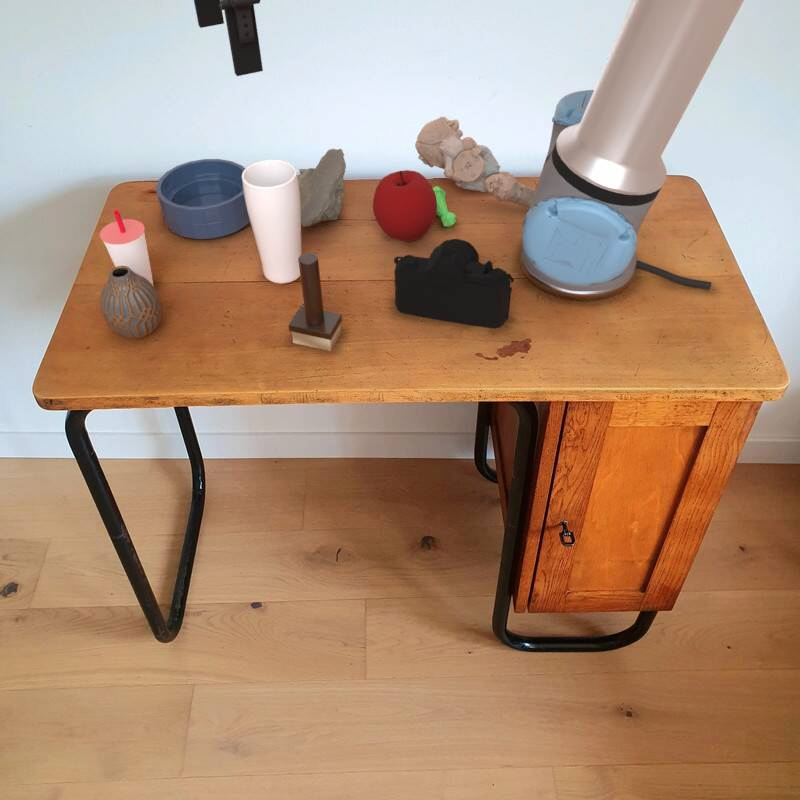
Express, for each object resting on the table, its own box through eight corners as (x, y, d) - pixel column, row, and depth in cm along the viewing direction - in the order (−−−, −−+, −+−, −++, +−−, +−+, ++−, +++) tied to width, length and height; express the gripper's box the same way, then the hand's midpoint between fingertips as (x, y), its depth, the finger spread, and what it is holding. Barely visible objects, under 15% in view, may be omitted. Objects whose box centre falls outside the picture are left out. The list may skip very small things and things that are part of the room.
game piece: (413, 209, 112) (435, 236, 110) (426, 185, 110) (449, 211, 107) (435, 211, 115) (456, 237, 112) (448, 187, 113) (470, 213, 110)
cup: (152, 303, 100) (127, 224, 91) (113, 299, 101) (84, 220, 92) (167, 277, 104) (144, 199, 95) (129, 274, 104) (103, 196, 95)
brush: (343, 332, 96) (336, 252, 87) (332, 352, 93) (324, 272, 85) (303, 323, 97) (292, 244, 88) (290, 343, 95) (278, 263, 86)
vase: (99, 329, 97) (77, 273, 90) (145, 302, 100) (127, 246, 94) (132, 354, 93) (111, 298, 87) (178, 326, 97) (162, 269, 90)
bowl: (271, 199, 116) (266, 166, 112) (231, 249, 108) (224, 215, 104) (192, 185, 119) (185, 153, 115) (148, 233, 111) (138, 199, 107)
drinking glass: (300, 292, 101) (287, 191, 90) (251, 285, 102) (232, 185, 91) (314, 261, 106) (304, 161, 95) (267, 255, 107) (251, 156, 96)
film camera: (517, 287, 102) (525, 229, 95) (504, 334, 95) (511, 276, 89) (406, 268, 105) (406, 211, 98) (386, 313, 98) (384, 255, 92)
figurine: (464, 118, 122) (549, 196, 114) (433, 164, 125) (514, 241, 118) (433, 105, 114) (522, 186, 107) (402, 153, 118) (486, 235, 111)
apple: (447, 241, 108) (450, 177, 101) (388, 257, 106) (386, 192, 99) (421, 207, 114) (422, 145, 107) (364, 221, 112) (361, 158, 105)
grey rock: (350, 216, 119) (295, 181, 119) (376, 160, 113) (318, 123, 112) (310, 255, 109) (250, 217, 109) (338, 196, 102) (273, 154, 102)
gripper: (114, -223, 73) (165, 13, 89) (180, -172, 58) (229, 103, 73) (191, -230, 75) (229, 1, 91) (275, -182, 60) (303, 87, 75)
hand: (229, 47), depth 82 cm, fingers open, 13 cm apart
